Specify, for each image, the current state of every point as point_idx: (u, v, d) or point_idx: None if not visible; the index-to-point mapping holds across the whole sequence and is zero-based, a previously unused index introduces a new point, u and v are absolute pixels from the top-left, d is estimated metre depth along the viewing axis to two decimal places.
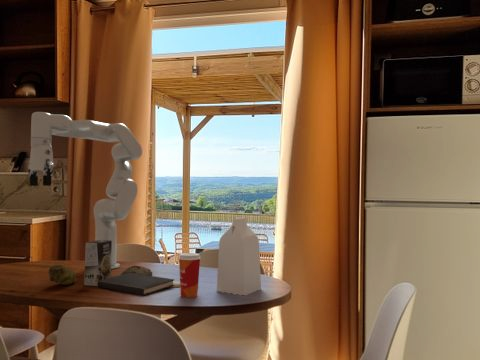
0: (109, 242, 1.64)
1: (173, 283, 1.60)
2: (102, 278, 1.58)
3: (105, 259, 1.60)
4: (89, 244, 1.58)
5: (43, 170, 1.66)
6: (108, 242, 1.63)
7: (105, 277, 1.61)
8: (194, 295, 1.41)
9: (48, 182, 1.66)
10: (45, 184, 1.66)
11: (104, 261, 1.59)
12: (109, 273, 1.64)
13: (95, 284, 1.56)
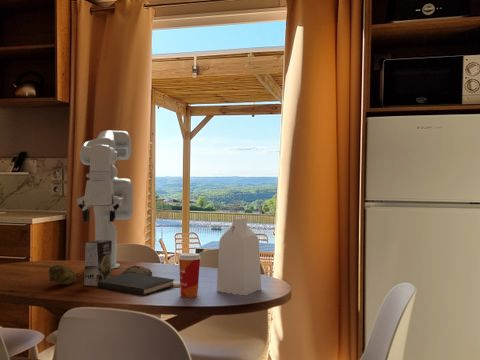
0: (109, 242, 1.64)
1: (173, 283, 1.60)
2: (102, 278, 1.58)
3: (105, 259, 1.60)
4: (89, 244, 1.58)
5: (89, 205, 1.63)
6: (108, 242, 1.63)
7: (105, 277, 1.61)
8: (194, 295, 1.41)
9: None
10: None
11: (104, 261, 1.59)
12: (109, 273, 1.64)
13: (95, 284, 1.56)
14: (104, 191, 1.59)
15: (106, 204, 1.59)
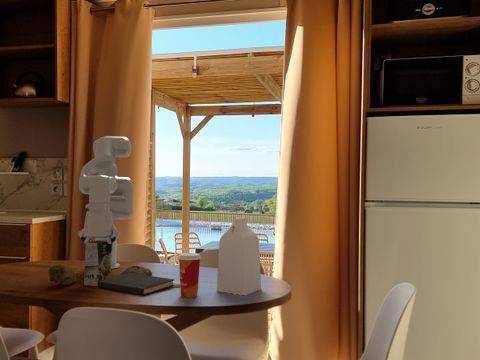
0: None
1: (173, 283, 1.60)
2: (102, 278, 1.58)
3: (105, 259, 1.60)
4: (89, 244, 1.58)
5: None
6: None
7: (105, 277, 1.61)
8: (194, 295, 1.41)
9: None
10: None
11: (104, 261, 1.59)
12: (109, 273, 1.64)
13: (95, 284, 1.56)
14: (103, 222, 1.59)
15: (105, 235, 1.59)
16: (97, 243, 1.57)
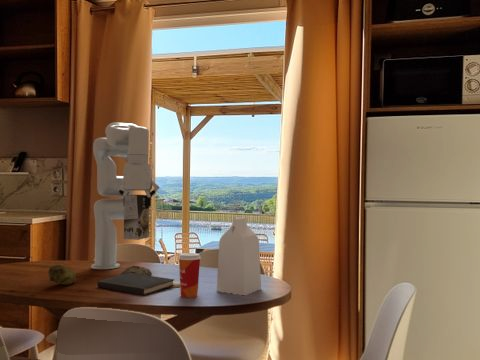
0: None
1: (173, 283, 1.60)
2: (141, 232, 1.53)
3: (144, 212, 1.55)
4: (128, 197, 1.52)
5: None
6: None
7: (144, 232, 1.55)
8: (194, 295, 1.41)
9: None
10: None
11: (143, 215, 1.54)
12: (147, 228, 1.58)
13: (135, 238, 1.51)
14: (143, 175, 1.54)
15: (145, 188, 1.54)
16: (137, 195, 1.52)
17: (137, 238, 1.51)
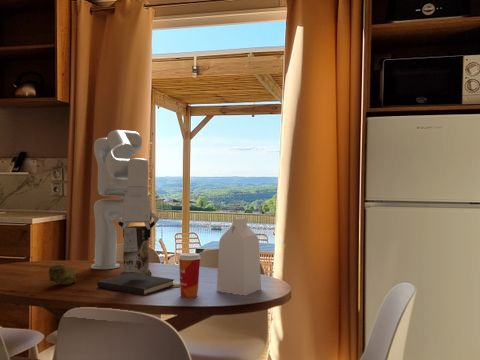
0: None
1: (173, 283, 1.60)
2: (141, 264, 1.53)
3: (144, 244, 1.55)
4: (128, 229, 1.52)
5: (127, 222, 1.57)
6: (146, 227, 1.57)
7: (144, 263, 1.55)
8: (194, 295, 1.41)
9: None
10: None
11: (143, 247, 1.53)
12: (147, 260, 1.58)
13: (134, 270, 1.51)
14: (142, 207, 1.53)
15: (145, 220, 1.53)
16: (136, 228, 1.51)
17: (137, 271, 1.50)
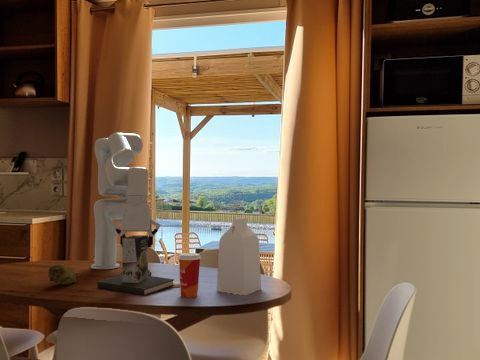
0: (146, 237, 1.57)
1: (173, 283, 1.60)
2: (141, 275, 1.53)
3: (143, 254, 1.54)
4: (126, 240, 1.51)
5: None
6: (145, 237, 1.57)
7: (143, 273, 1.55)
8: (194, 295, 1.41)
9: None
10: None
11: (142, 257, 1.53)
12: (146, 269, 1.58)
13: (134, 281, 1.51)
14: (142, 216, 1.53)
15: (144, 229, 1.53)
16: (135, 239, 1.51)
17: (136, 281, 1.51)
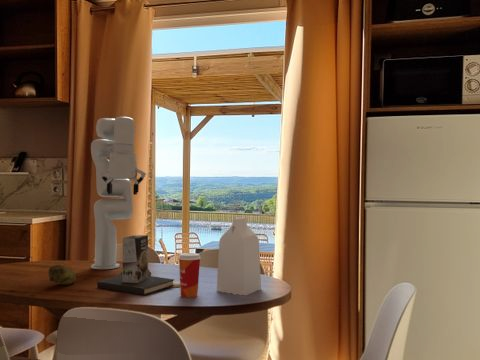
0: (146, 237, 1.57)
1: (173, 283, 1.60)
2: (141, 274, 1.53)
3: (143, 254, 1.54)
4: (126, 240, 1.52)
5: (112, 178, 1.63)
6: (145, 237, 1.57)
7: (143, 273, 1.55)
8: (194, 295, 1.41)
9: None
10: None
11: (142, 257, 1.53)
12: (146, 269, 1.58)
13: (134, 281, 1.51)
14: (128, 164, 1.59)
15: (130, 177, 1.59)
16: (135, 238, 1.51)
17: (136, 281, 1.51)
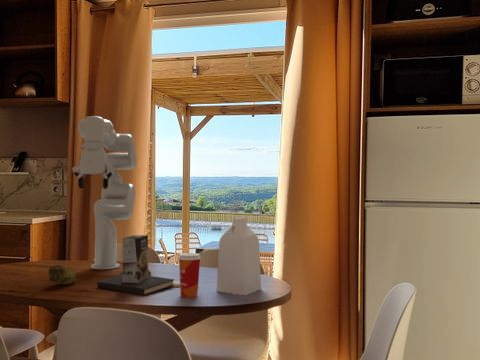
0: (146, 237, 1.57)
1: (173, 283, 1.60)
2: (141, 275, 1.53)
3: (143, 254, 1.54)
4: (126, 240, 1.51)
5: (83, 174, 1.74)
6: (145, 237, 1.57)
7: (143, 273, 1.55)
8: (194, 295, 1.41)
9: None
10: None
11: (142, 257, 1.53)
12: (146, 269, 1.58)
13: (134, 281, 1.51)
14: (98, 160, 1.70)
15: (100, 172, 1.70)
16: (135, 239, 1.51)
17: (136, 281, 1.51)
